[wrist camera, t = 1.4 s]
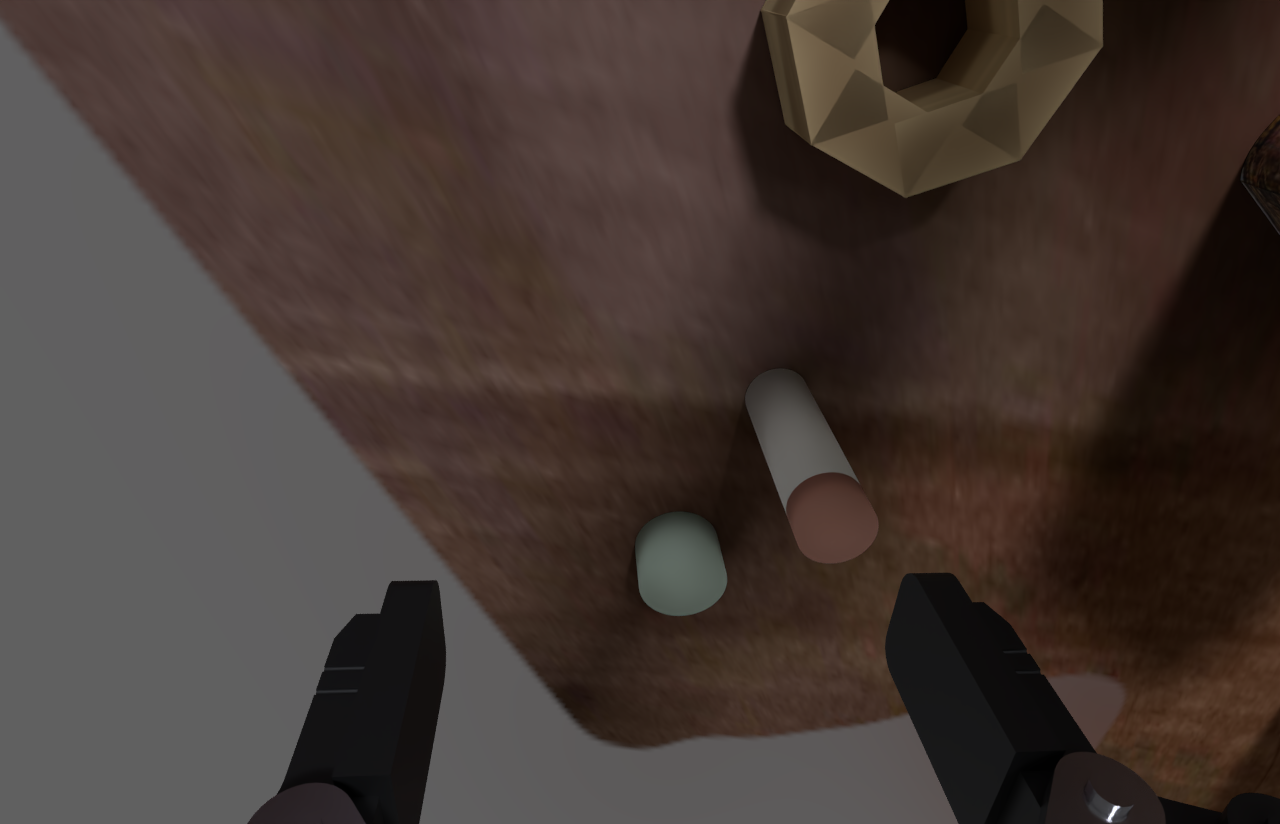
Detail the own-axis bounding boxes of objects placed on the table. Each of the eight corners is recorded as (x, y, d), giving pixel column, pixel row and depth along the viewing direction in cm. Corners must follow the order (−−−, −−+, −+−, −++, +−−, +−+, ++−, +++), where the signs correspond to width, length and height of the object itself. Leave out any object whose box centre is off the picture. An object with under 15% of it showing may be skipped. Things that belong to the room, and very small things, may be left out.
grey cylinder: (800, 360, 36) (871, 488, 27) (813, 412, 37) (884, 550, 28) (738, 379, 36) (788, 512, 27) (753, 431, 37) (805, 572, 29)
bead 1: (705, 500, 39) (714, 538, 37) (726, 561, 42) (736, 601, 39) (623, 524, 40) (626, 564, 37) (649, 584, 42) (653, 625, 39)
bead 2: (1032, -190, 26) (1102, -213, 22) (1044, 113, 31) (1103, 133, 27) (741, -82, 27) (765, -88, 23) (799, 195, 32) (826, 224, 28)
